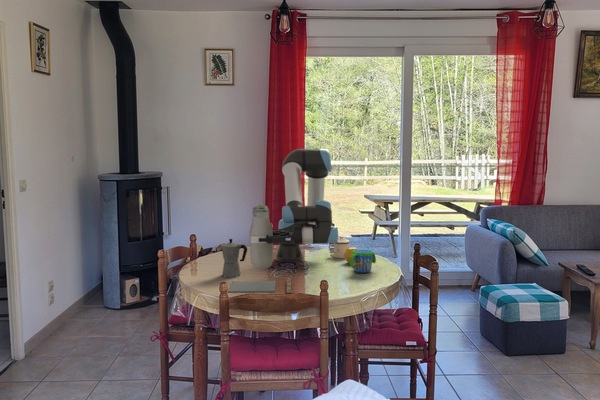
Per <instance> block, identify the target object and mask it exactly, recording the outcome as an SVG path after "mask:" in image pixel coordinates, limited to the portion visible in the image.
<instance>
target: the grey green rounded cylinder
mask: <svg viewBox="0 0 600 400" xmlns="http://www.w3.org/2000/svg"><path fill="white" fill-rule="evenodd" d="M251 213H252V219H251V225H250V229H249V247H250V249H249V250H250V261H251V262H250V263H251V265H252V267H253V268H255V269H256V270H265V269H269V268H270V267H271V266H272V265H273V260H274V248H273V247H274V243H271V244H268V243H251V236H266V235H268V237H269V236H273V232H272V230H273V228H272V225H271V221H270V209H269V207H268V206H267V205H265V204H264V205H263V204H258V205H256V206H254V207H253V208H252V212H251Z"/></svg>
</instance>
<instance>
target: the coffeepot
mask: <svg viewBox="0 0 600 400" xmlns="http://www.w3.org/2000/svg"><path fill="white" fill-rule="evenodd" d="M228 240H229V242H225V243H220V244H218V246H219V247H220V249H221V251H222V258H223V267H222V275H221V276H222V277H223V276H225V277H224V278H227V277H233V278H237V277H236V276H238V277H240V276H241V275H240V274H241V273H242V271H241V268H240V262H245V260H246V255H247V252H248V247H247V246H246V244H240V243H238V242H237V243H236V242H233V238H229V239H228ZM242 249H243V252H242V257H241V258H240V259H239V257H240V250H242ZM239 261H240V262H239Z"/></svg>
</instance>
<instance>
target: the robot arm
mask: <svg viewBox="0 0 600 400" xmlns="http://www.w3.org/2000/svg"><path fill="white" fill-rule="evenodd" d="M281 171H282V174H283V176H284V191H285V192H284V193H285V194H284V195H285V205H284V206H282V209H281V211H282V212H281V218H282V219H280V220H279V221H278V228H277V229H278V230H275V229H274V230H273V229H272V232H273V236H269V237H268V235H266V236H251V243H268V244H271V243H273V244H278V247H277V251H276V254H275V261H277V262H278V263H286V264H287V263H289V264H291V263H299V262H302V261H303V260H304V254H303V251H302V247H301V245H308V246H311V245H331V244H334V243H336V242H337V241H338V238H339V230H338V226H335V225H334V224H333V214H332V213H333V211H332V206H331V202H330V201H328V200H325V199H324V198H325V185H326V184H325V183H326V178H327V177H328V175H329V173H330V172H332V162H331V154H330V150H329V149H327V148H297V149H294V150H292V151H291V152H290V153H288V154H287V156H286V157H285V158H284V160H283V162H282V167H281ZM302 173H305V176H306V177H307V205H303V196H302V183H301V182H302V180H301V174H302Z"/></svg>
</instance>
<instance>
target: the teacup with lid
mask: <svg viewBox="0 0 600 400" xmlns="http://www.w3.org/2000/svg"><path fill="white" fill-rule="evenodd" d="M350 243H351V241H350V240H349V239H346V238H345V237H344V236H343V235H340V236H339V237H338V241H337V242H336V243H330V244H328V251H329V252H330V253H331V254H333V256H334V258H336V259H345V258H344V253H345V251H346V249H347V248H350ZM332 246H333V251H332V250H331V247H332Z"/></svg>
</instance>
